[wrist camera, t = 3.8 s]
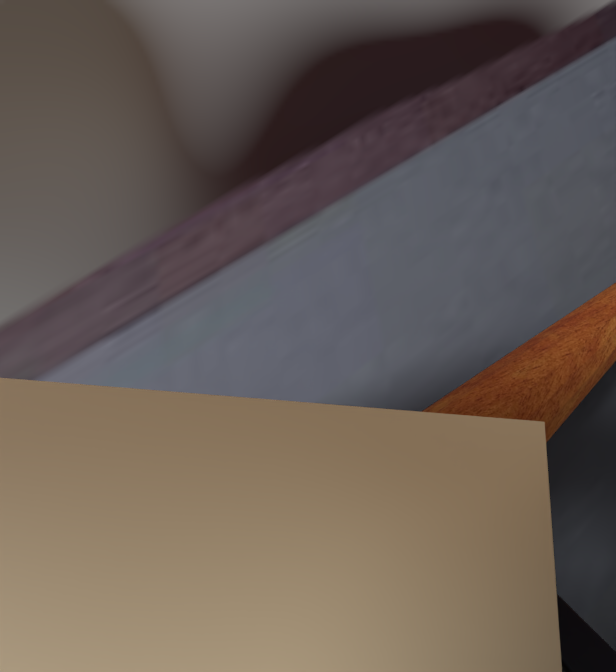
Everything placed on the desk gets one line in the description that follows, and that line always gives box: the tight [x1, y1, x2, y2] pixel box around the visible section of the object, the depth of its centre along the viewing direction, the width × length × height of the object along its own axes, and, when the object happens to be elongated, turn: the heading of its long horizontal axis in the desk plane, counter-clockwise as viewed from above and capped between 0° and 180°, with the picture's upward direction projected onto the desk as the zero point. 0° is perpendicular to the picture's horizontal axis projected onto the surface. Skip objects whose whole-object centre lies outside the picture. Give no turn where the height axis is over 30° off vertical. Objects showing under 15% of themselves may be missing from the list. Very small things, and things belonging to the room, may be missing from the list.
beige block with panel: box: [0, 378, 562, 672], centre depth 11 cm, size 4×6×13 cm, turn 87°
